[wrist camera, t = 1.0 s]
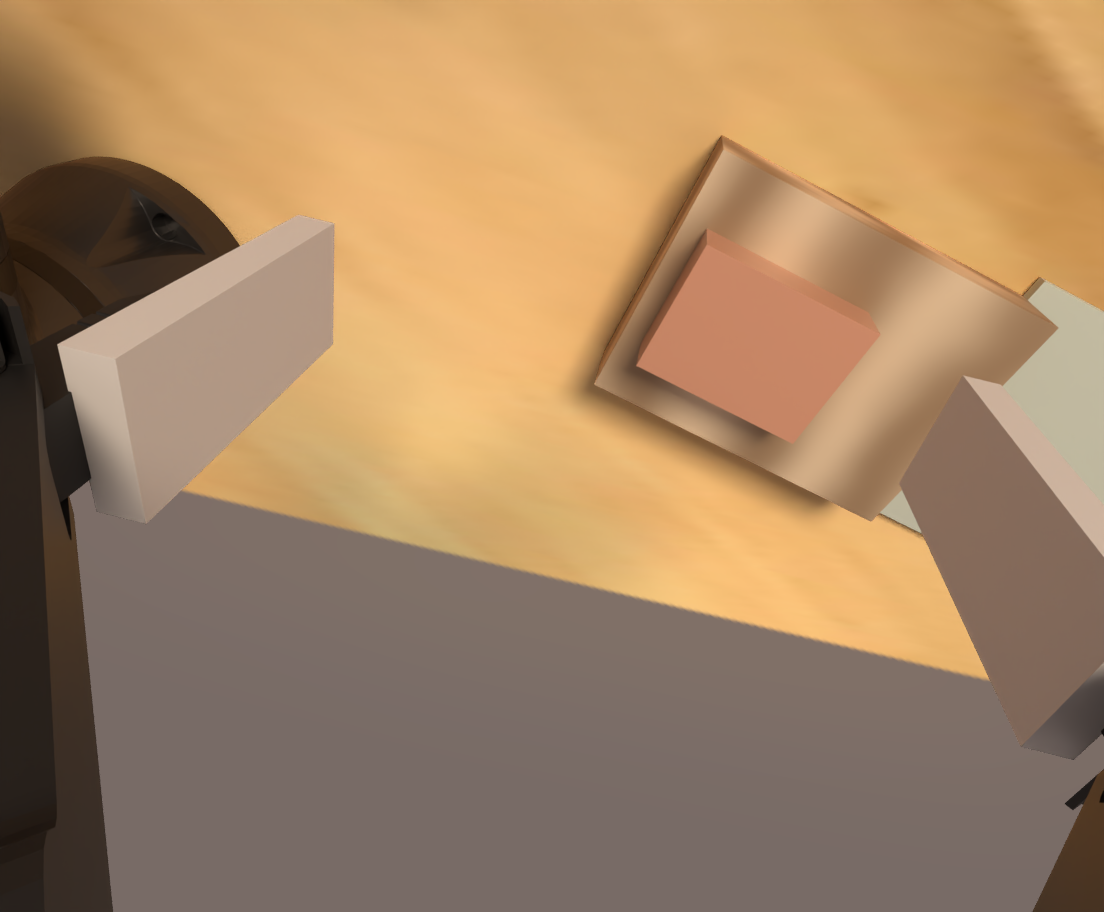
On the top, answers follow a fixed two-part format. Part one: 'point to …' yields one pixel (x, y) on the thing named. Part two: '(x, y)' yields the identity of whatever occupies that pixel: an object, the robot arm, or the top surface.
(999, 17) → the top surface
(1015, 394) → the mat
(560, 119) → the top surface
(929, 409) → the deck
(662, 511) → the top surface
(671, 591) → the top surface
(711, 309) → the tile
